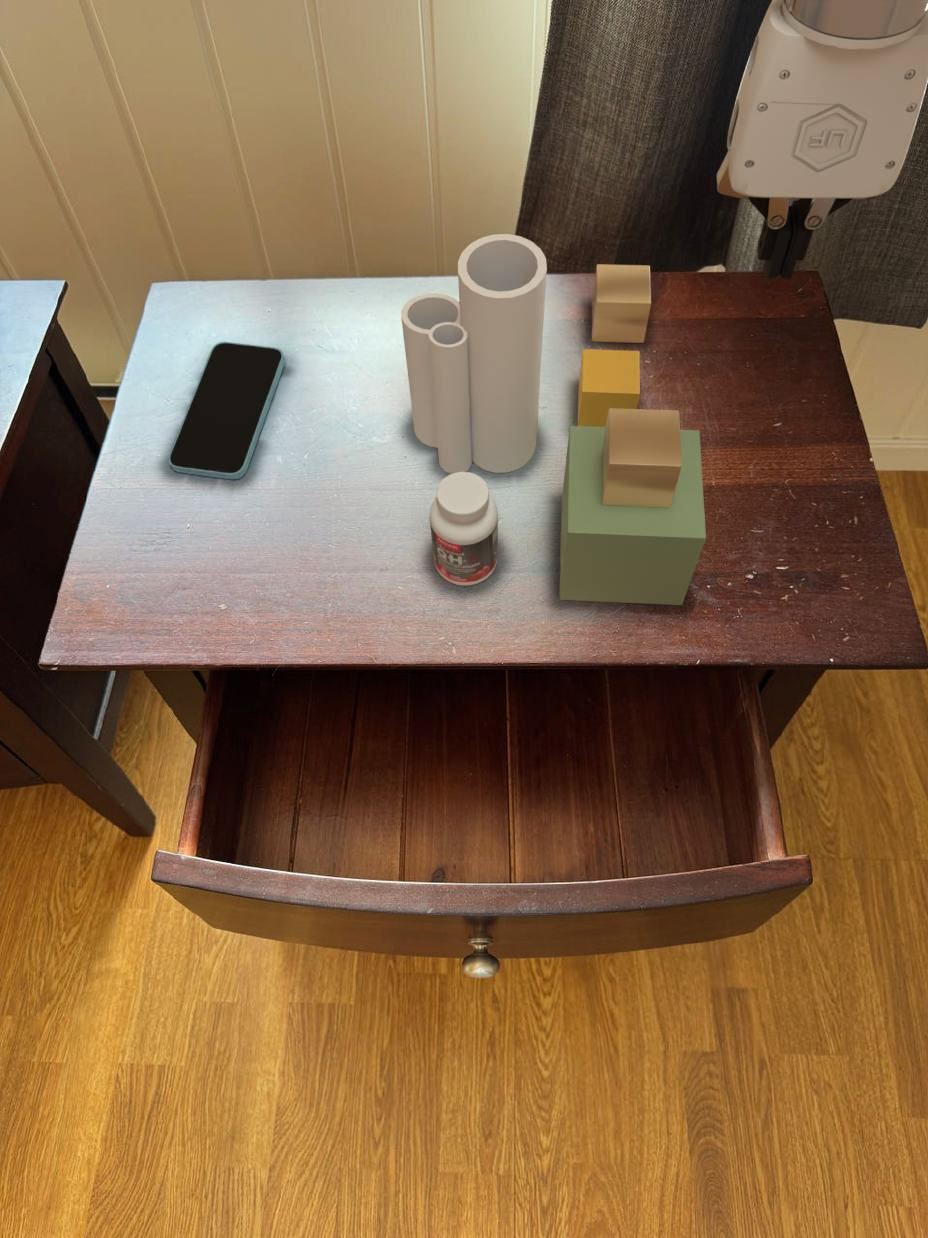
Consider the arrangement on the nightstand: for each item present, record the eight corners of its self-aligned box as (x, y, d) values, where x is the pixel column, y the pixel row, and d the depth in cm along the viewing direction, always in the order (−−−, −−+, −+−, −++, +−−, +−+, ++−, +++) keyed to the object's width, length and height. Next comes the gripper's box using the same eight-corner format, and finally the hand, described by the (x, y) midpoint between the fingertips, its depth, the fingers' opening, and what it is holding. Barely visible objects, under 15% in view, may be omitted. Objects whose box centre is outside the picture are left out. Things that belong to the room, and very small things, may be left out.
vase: (539, 417, 86) (550, 235, 69) (532, 480, 83) (542, 306, 65) (417, 407, 87) (398, 226, 69) (406, 469, 84) (382, 295, 66)
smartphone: (164, 465, 84) (214, 340, 90) (168, 472, 85) (217, 348, 91) (241, 475, 83) (286, 348, 89) (244, 483, 84) (288, 356, 90)
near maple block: (601, 451, 71) (608, 407, 67) (668, 454, 71) (679, 410, 67) (601, 505, 69) (609, 463, 65) (670, 508, 69) (682, 466, 64)
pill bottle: (435, 589, 78) (427, 522, 69) (433, 535, 80) (426, 464, 72) (499, 586, 78) (500, 519, 69) (496, 532, 80) (496, 461, 72)
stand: (561, 500, 82) (569, 425, 73) (677, 505, 81) (699, 429, 72) (559, 600, 77) (567, 532, 68) (682, 605, 76) (706, 538, 67)
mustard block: (578, 387, 88) (582, 348, 83) (632, 389, 87) (639, 350, 83) (577, 429, 85) (581, 391, 81) (632, 431, 85) (640, 393, 81)
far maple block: (591, 304, 93) (596, 263, 88) (642, 305, 92) (649, 264, 88) (591, 341, 90) (596, 301, 86) (643, 343, 90) (651, 303, 86)
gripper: (721, 23, 49) (670, 301, 64) (1022, 20, 47) (894, 304, 63) (713, -53, 52) (667, 228, 68) (992, -56, 51) (878, 230, 67)
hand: (776, 264), depth 66 cm, fingers closed
